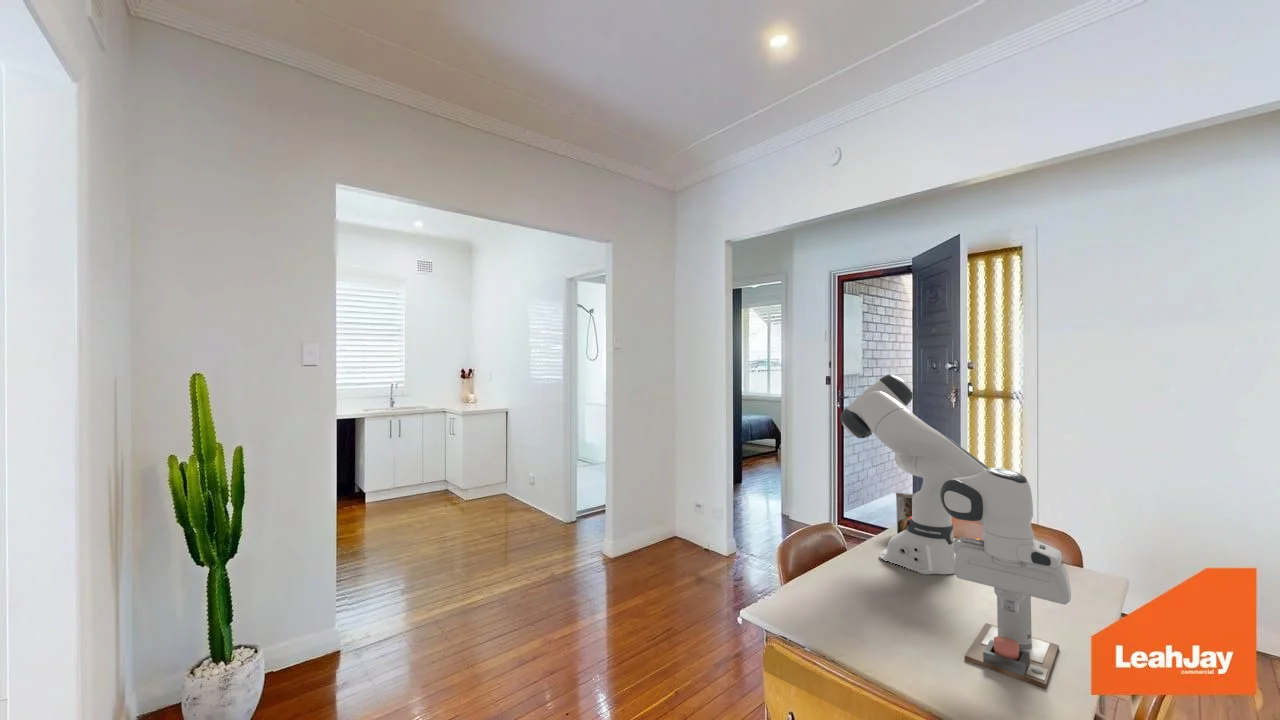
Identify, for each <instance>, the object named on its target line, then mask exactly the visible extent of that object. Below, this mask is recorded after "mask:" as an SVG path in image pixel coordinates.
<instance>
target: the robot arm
mask: <svg viewBox="0 0 1280 720" xmlns="http://www.w3.org/2000/svg"><path fill="white" fill-rule="evenodd" d="M913 394H914V393H913V392H912V389H911V386H909V384H908V383H907V381H905V380H904V379H903V378H901V377H898V376H896V375H894V374H887V375H884V376H882V377H880V378H879V380H878V381H877V382H875V383H873V384H872V385H870V386H869V387H868V388H866V389H865V390H863V391H862V392H861V394H859V396H857V397H856V398H855V399H854V400H853V401H852V402H851V403H850V405H849V406H848V407H845V408H844V409H843V411H842V412H841V413H840V422H841V423H842V426H843V428H844V429H845V431H847V433H849V434H850V435H852V436H853V437H856V438H857V439H866V438H869V437H871V436H872V434H874V436H875V437H876V438H877V439H879V441H880V442H881V443H882V444H883V445H884V446H886V447H887V448H888V449H890V450H892V451H893V452H894V455H895V456H894V461H895V464H896V465H897V467H898V468H900V469H901V470H902V471H904V472H906V473H907V474H909V475H911V476H915V477H918V478H922V479H923V480H922V485H921V488H920V490H918V491H916V492H915V493H913V494H914V495H913V497H912V516H911V517H909V518H908V520H907V521H906V522H905V526H906V528H907V529H906V530H904V531H902V532H900V533H898V534H897V533H896V534H895V535H893V536H892V537H891V538H890V539H889V541H888V543H887V548H885V549H883V550H881V551H880V553H879V559H880V558H882V559H884V560H887V561H889V562H892V563H895V564H898V565H900V566H899V567H901V566H903V567H902V568H904V567H906V568H905V569H907V568H908V569H907V570H910V569H911V570H910V571H913V570H914V571H913V572H916V571H917V572H916V573H919V574H921V575H953V574H954V575H955V576H956V577H957V578H958V579H961V580H964V581H968V582H972V583H976V584H980V585H984V586H987V587H992V588H993V590H994V591H993V592H994V594H995V596H996V598H997V597H998V598H999V600H1000V601H1001V609H1004V610H1008V611H1011V612H1015V613H1018V612H1019V604H1020V603H1021V602H1022V600H1023V599H1024V597H1025V595H1027V596H1031V598H1035V599H1040V600H1044V601H1049V602H1051V603H1056V604H1061V605H1068V603H1069V602H1070V601H1071V599H1072V587H1071V582H1070V577H1069V573H1068V571H1067V568H1066V567H1065V566H1064V564H1062V561H1063V557H1062V555H1063V554H1062V552H1061V551H1060V550H1059V549H1058V548H1056V547H1052V546H1051V545H1048V544H1046V543H1043V542H1041V541H1039V540H1037V539H1035V537H1034V535H1035V534H1034V530H1033V528H1032V519H1033V517H1034V504H1033V502H1034V501H1033V495H1032V488H1031V485H1030V482H1029V481H1028V479H1027V478H1026V476H1025V475H1023V474H1022V473H1020V472H1017V471H1014V470H1011V469H1009V468H1006V469H1005V468H1002V467H989V466H987V464H985V463H983V462H982V461H980V460H979V459H978V458H976V456H974V455H973V454H971V453H970V452H968V451H967V450H966V449H965V448H963V447H962V446H961V445H960V444H958V443H956V442H955V441H954V440H952V439H951V438H950V437H948V436H947V435H945V434H943V433H942V432H940V431H938V430H937V429H935V428H933V427H932V426H931V425H929V424H927V423H926V422H925V421H923V420H922V419H920V418H919V417H918V416H917V415H916V414H914V413H913V412H912V411H911V410H910V409H909V408H908V407H907V406H908V405H909V404H910V403H911V402H912V400H913V398H914V397H913V396H914V395H913ZM952 517H953V518H954V519H956V520H961V521H966V522H967V521H968V522H979V523H981V524H982V533H983V534H982V537H983V538H982V540H981V539H980V540H977V539H976V538H969V537H965V536H960V537H957V538H955V535H954V533H955V532H954V531H955V530H954V525H953V524H952ZM889 562H888V563H889ZM892 563H891V564H892ZM895 564H894V565H895ZM898 565H897V566H898ZM1004 590H1007V591H1011V592H1015V597H1017V600H1016V601H1015V602H1014V601H1010V600H1007V599H1006V598H1005V597H1004V595H1003V593H1002V592H1003V591H1004Z"/></svg>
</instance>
